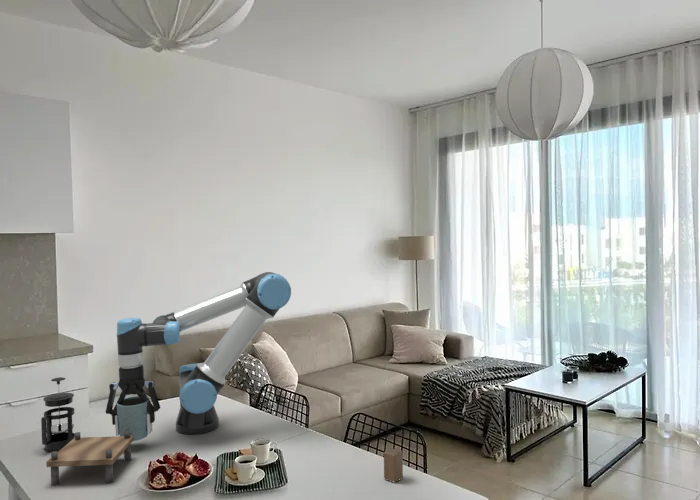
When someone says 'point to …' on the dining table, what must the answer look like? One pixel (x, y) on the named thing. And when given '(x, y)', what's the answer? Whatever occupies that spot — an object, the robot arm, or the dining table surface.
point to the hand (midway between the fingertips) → (134, 433)
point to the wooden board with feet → (91, 453)
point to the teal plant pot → (133, 417)
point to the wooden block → (393, 464)
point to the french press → (59, 430)
